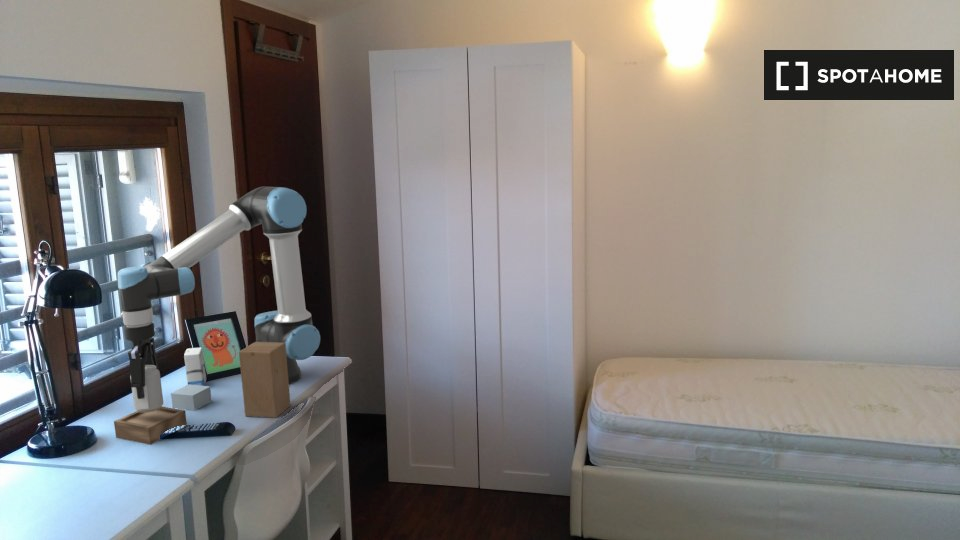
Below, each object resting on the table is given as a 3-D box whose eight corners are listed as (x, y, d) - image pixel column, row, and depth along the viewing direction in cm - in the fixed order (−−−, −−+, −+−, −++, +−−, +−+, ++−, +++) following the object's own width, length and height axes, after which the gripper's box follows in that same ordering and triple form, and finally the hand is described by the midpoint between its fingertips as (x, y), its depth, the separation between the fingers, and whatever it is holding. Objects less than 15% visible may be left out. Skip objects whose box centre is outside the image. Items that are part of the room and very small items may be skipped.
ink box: (203, 388, 244) (199, 354, 242) (187, 390, 243) (183, 355, 241) (206, 380, 252) (203, 346, 250) (190, 381, 251) (187, 348, 249)
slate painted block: (190, 399, 235) (188, 384, 234) (211, 401, 233) (210, 386, 232) (172, 408, 228) (170, 393, 227) (194, 411, 225) (192, 395, 224)
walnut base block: (153, 420, 219) (151, 404, 218) (187, 426, 214) (185, 410, 213) (116, 437, 207) (113, 421, 206) (150, 444, 202) (148, 427, 201)
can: (145, 403, 213) (140, 362, 211) (169, 404, 212) (164, 363, 210) (128, 413, 206) (123, 371, 204) (153, 414, 205) (147, 372, 202)
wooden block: (276, 418, 217) (270, 352, 213) (244, 416, 219) (238, 351, 215) (291, 405, 227) (285, 342, 223) (260, 404, 229) (254, 341, 225)
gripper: (137, 315, 214) (147, 391, 218) (110, 335, 194) (121, 418, 199) (164, 313, 214) (173, 389, 219) (140, 333, 195) (150, 416, 199)
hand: (148, 402), depth 209 cm, fingers closed on can, 7 cm apart
